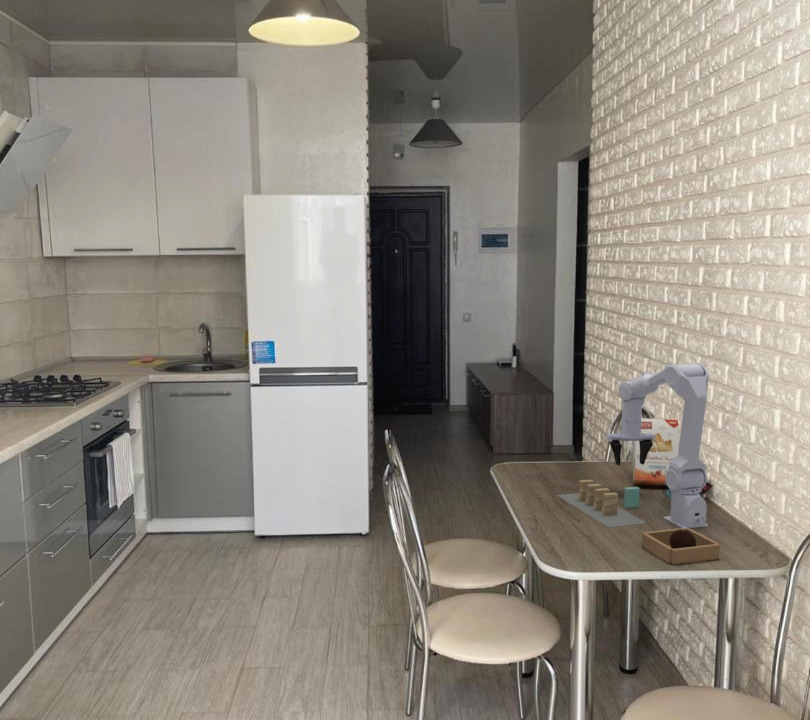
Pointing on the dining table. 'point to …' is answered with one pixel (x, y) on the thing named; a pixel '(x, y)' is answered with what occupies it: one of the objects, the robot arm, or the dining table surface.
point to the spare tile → (631, 497)
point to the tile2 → (609, 504)
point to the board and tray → (653, 535)
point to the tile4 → (591, 493)
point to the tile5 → (583, 489)
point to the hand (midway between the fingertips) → (629, 464)
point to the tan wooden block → (599, 498)
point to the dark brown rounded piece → (682, 539)
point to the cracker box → (656, 451)
